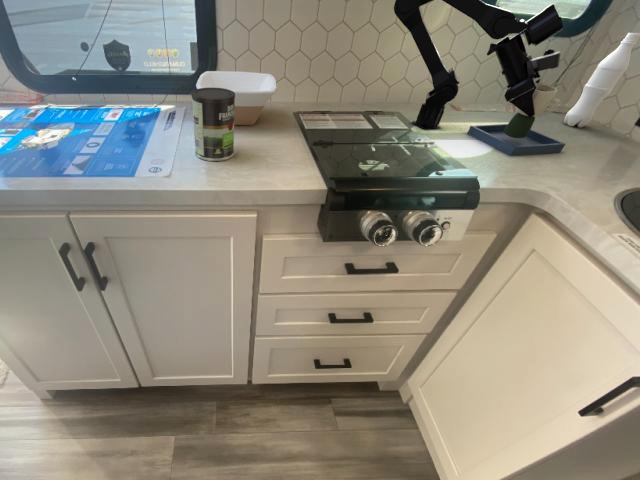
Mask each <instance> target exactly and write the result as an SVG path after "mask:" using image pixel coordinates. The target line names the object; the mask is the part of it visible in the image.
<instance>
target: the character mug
mask: <svg viewBox="0 0 640 480" xmlns="http://www.w3.org/2000/svg"><path fill="white" fill-rule="evenodd" d="M536 86H537V88H536V89H535V91H534V93H533V102H534V111H535V115H534V116H532V117H529V116H528V115H527V114H525V113H524V112H523V111H521V110H520V109H519V108H517V107H516V106H515V112H516V113H515V114H514V116H513V117H512V118H511V119H510V120H509V122H507V124H508V125H507V126H506V127H505V129H504V133H505V134H506V135H508V136H509V137H513V138H524V137H526V136H527V135H528V133H529V131H530V129H532V127H533V125H534V123H535V120H536V117H540V116H541V115H543V114H544V113H545V112H547V113H553V112H555V110H556V109H557V107H558V105H559V104H560V102H561V100H560V99H559V98H556V94H557V93H558V89H557V88H556V87H555V86H552V85H550V84H546V83H540V82H539V83H536ZM551 103H553V105H552V106H551V107H549V105H550V104H551Z"/></svg>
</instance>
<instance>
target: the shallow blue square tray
mask: <svg viewBox="0 0 640 480" xmlns="http://www.w3.org/2000/svg"><path fill="white" fill-rule="evenodd" d="M507 125H508V123H499V124H480V125H479V124H477V125H470V126H469V128H468V131H467V133H466V134H467V135H469V136H471V137H473V138H474V139H476V140H479V141H480V142H482V143H484V144H487V145H488V146H490V147H492V148H494V149H496V150H498V151H500V152H502V153H504V154H506V155H508V156H510V157H511V156H525V155H526V156H527V155H538V154H552V153H553V154H554V153H561V152H562V150H563V149H564V148H565V146H566V143H564V142H562V141H560V140H558V139H555V138H553V137H550V136H548V135H546V134H543V133H541V132H539V131H536V130H534V129H532V128H531V129H530V131H529V133H528V135H527V136H526V137H524V138H513V137H509V136H508V135H506V134H505V133H504V129H505V127H506V126H507Z"/></svg>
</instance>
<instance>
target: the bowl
mask: <svg viewBox="0 0 640 480" xmlns="http://www.w3.org/2000/svg"><path fill="white" fill-rule="evenodd" d="M195 87H196V89H200V88H223V89H228V90H231V91H233V92H234V93H235V106H234V126H253V125H255V123H256V122H257V120H258V118H259V117H260V115H261V113H262V111H263V109H264V107H265V105H266V104H267V103H268V102H269V100H270V99H272V97H273V96H274V95H275V93H276V92H277V90H278V87H277V81H276V77H274V76H273V75H272V74H271V73H264V72H251V71H235V70H234V71H231V70H230V71H229V70H228V71H227V70H206V71H204V72H202V73H201V74H200V75H199V78H198V79H197V81H196V84H195Z"/></svg>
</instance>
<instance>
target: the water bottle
mask: <svg viewBox="0 0 640 480" xmlns="http://www.w3.org/2000/svg"><path fill="white" fill-rule="evenodd" d="M639 38H640V33H639V32H627V34H626V36H625V37H624V38H623V39H622V41H620V44H619V45H618V47H617V48H615V49H614V50H613V51H612V52H611V53H609V54H608V55H607V56H606V57H605V58H603V59H602V60H601V61H600V62H599V63H598V64H597V66H596V68H595V70H594V71H593V72H592V74H591V75H590V77H589V79H588V81H587V82H586V83H585V84H584V86H583V89H582V93H581V95H580V97H579V98H578V100H577V102H576V103H575V104H574V105H573V107H571V109H570V110H568V111H567V112H566V115H565V116H564V119H563V123H564V124H566V125H568V126H569V127H574V126H575V125H577V128H584V127H585V126H586V125H588V124H589V123H590V122H591V121H592V120H593V118H594V116H595V113H596V110H597V108H598V107H599V105H600V104H601V103H602V102H603V100H604V99H605V98H607V96H608V95H610V93H611V92H612V91H614V90H613V89H614V87H615V86H616V85H617V84H618V82H619V80H620V79H621V77H622V76H623V74H624V73H625V72H626V71H627V69H628V68H629V65H630V61H631V54H632V50H633V48H634V46H635V45H637V42H638V39H639Z"/></svg>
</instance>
